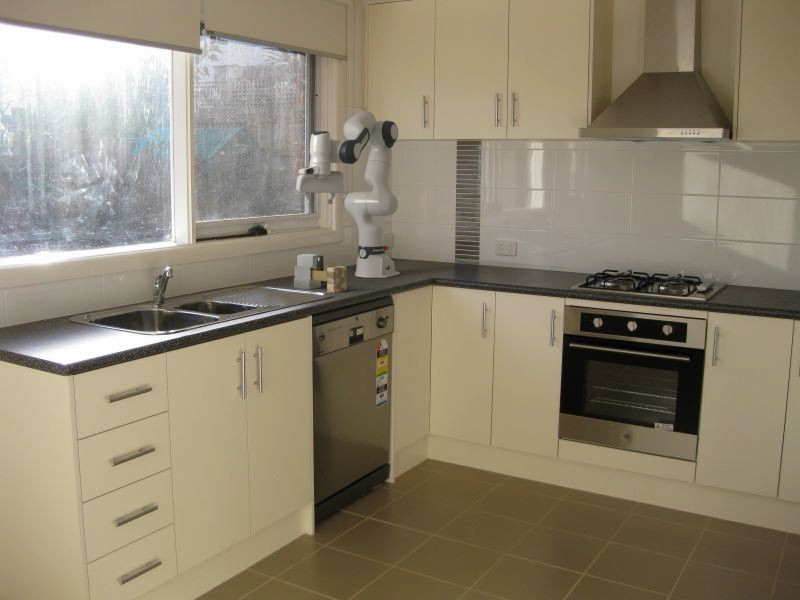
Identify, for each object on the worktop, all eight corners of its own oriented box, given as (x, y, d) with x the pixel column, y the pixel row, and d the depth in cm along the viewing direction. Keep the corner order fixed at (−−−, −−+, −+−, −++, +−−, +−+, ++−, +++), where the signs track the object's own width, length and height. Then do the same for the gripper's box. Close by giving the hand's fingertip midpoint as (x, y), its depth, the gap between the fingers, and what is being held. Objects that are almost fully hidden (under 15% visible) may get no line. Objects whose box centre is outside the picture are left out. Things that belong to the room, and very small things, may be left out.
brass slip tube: (306, 277, 371) (306, 253, 369) (333, 280, 362) (333, 256, 360) (299, 278, 368) (299, 254, 366) (326, 281, 358) (326, 257, 357)
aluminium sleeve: (305, 285, 374) (305, 264, 372) (320, 287, 368) (320, 266, 367) (294, 287, 368) (293, 266, 367) (309, 289, 363) (309, 267, 362)
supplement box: (313, 284, 376) (313, 255, 374) (296, 284, 378) (296, 255, 376) (318, 282, 383) (318, 254, 381) (302, 281, 385) (301, 253, 383)
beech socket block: (340, 289, 362) (340, 265, 361) (346, 290, 360) (346, 266, 359) (327, 291, 356) (327, 267, 355) (333, 292, 354) (333, 268, 353)
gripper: (340, 171, 370) (339, 203, 372) (294, 169, 361) (294, 203, 362) (346, 171, 364) (345, 204, 366) (300, 169, 355) (300, 203, 357)
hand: (320, 203), depth 364 cm, fingers open, 8 cm apart
